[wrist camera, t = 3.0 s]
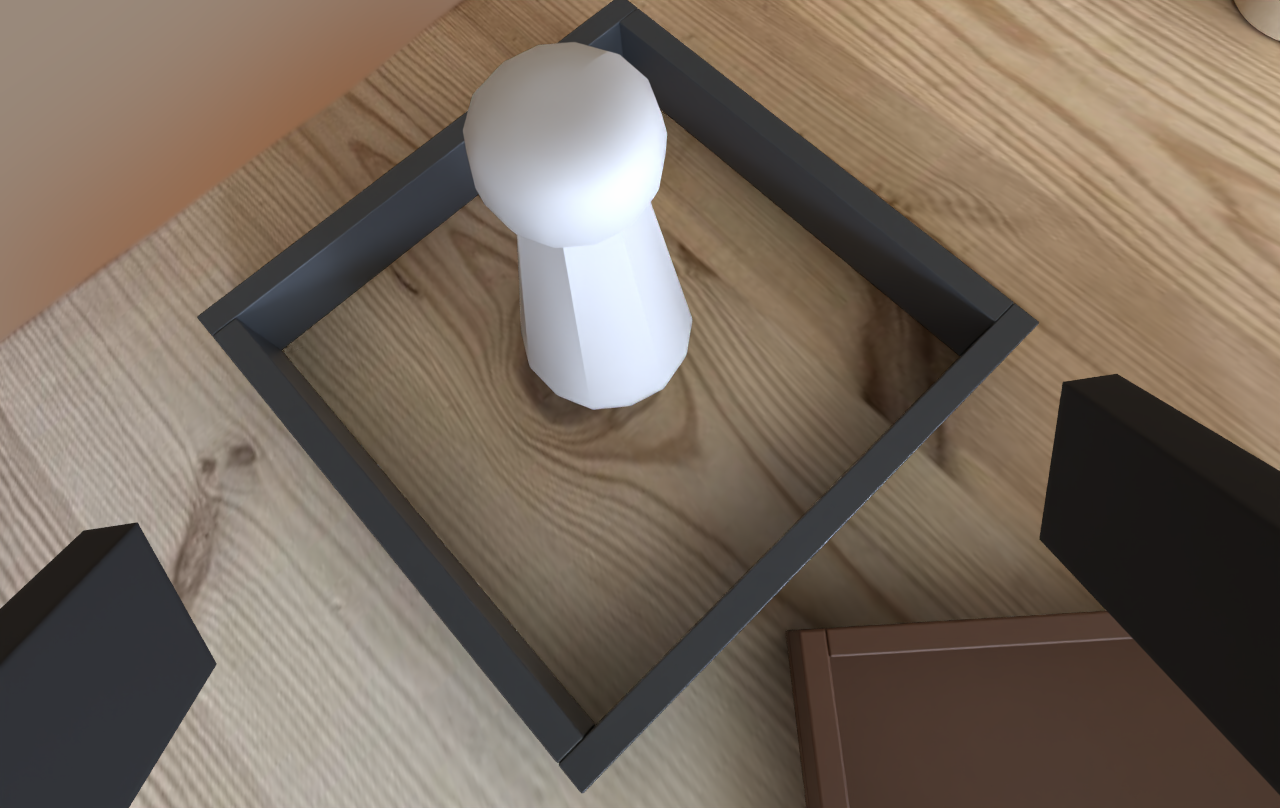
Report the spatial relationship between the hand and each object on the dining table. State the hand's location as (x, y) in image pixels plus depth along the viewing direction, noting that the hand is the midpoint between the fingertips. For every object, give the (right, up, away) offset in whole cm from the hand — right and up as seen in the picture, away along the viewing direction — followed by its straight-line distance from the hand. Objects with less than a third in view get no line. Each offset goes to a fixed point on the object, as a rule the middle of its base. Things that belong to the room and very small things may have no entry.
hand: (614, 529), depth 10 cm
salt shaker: (-1, +4, +16) cm, 17 cm away
